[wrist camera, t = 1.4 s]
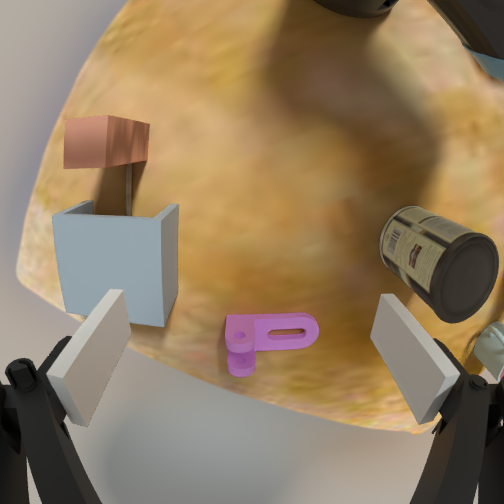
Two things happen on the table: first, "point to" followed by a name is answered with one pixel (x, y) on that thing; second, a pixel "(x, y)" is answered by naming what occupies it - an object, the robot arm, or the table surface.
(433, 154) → the table surface
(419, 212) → the coffee can
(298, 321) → the bracket
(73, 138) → the reddish brown block
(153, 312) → the box
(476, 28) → the robot arm
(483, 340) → the mug
